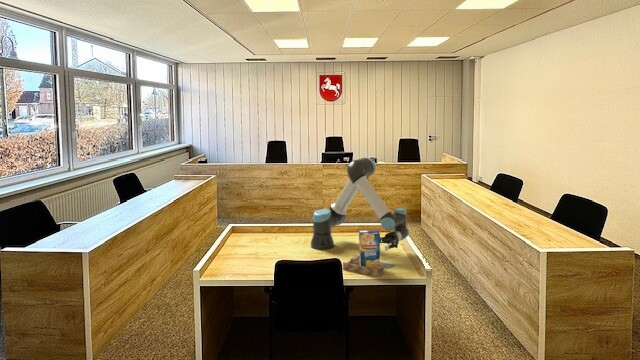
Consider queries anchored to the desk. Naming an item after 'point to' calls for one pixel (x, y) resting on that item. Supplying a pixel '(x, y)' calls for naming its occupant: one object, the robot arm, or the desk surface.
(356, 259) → the offcut top
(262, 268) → the desk surface
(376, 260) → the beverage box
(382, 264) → the pad
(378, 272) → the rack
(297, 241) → the desk surface
